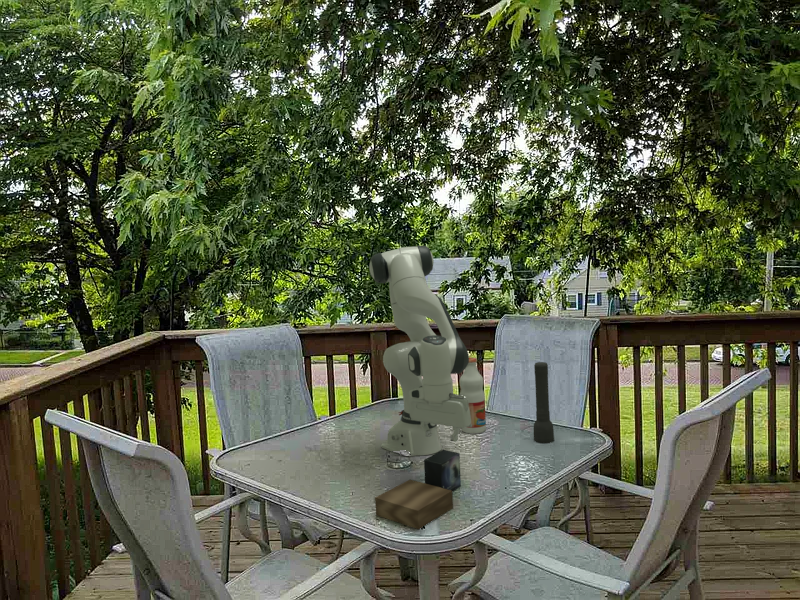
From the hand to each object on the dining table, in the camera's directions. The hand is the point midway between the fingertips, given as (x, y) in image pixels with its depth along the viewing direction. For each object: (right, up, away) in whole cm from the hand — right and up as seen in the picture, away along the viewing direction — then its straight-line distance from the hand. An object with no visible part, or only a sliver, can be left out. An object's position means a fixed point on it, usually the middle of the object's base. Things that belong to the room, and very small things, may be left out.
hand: (441, 438), depth 181 cm
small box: (+1, -16, +2) cm, 16 cm away
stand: (-8, -18, -11) cm, 22 cm away
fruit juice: (+16, -10, +57) cm, 60 cm away
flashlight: (+40, -10, +41) cm, 58 cm away
